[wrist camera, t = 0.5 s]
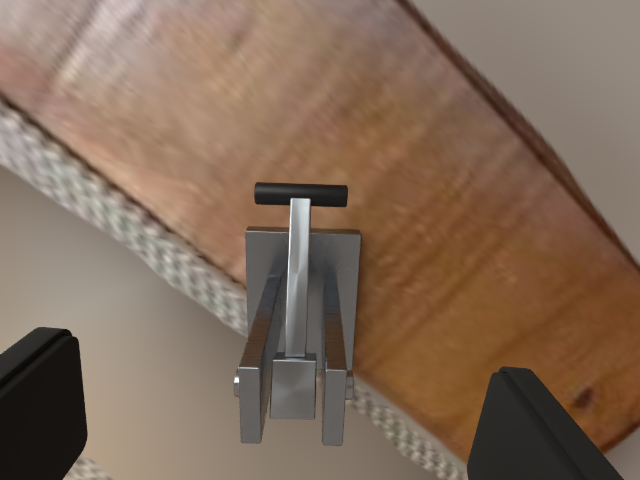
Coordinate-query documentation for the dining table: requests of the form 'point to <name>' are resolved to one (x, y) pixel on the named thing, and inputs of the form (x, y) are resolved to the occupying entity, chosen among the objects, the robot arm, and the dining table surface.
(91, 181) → the dining table surface
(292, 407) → the press lever
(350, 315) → the press bracket
